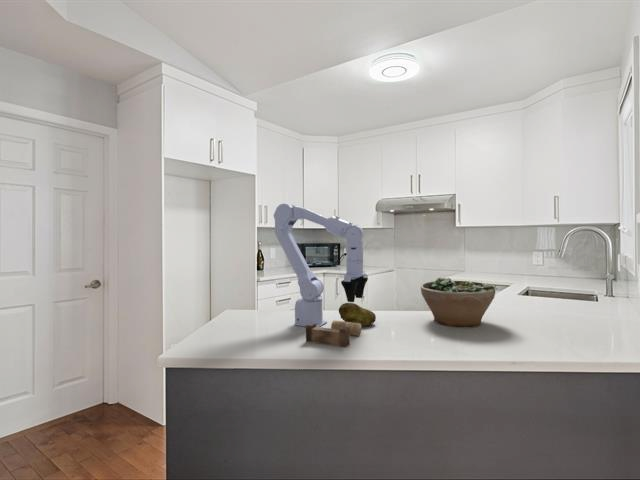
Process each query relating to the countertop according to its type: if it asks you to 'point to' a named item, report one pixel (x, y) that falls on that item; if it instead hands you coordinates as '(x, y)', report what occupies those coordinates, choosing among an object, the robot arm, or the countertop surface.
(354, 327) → the roller
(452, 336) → the countertop surface
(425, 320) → the countertop surface
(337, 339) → the stop rail
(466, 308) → the planter
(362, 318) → the potato
